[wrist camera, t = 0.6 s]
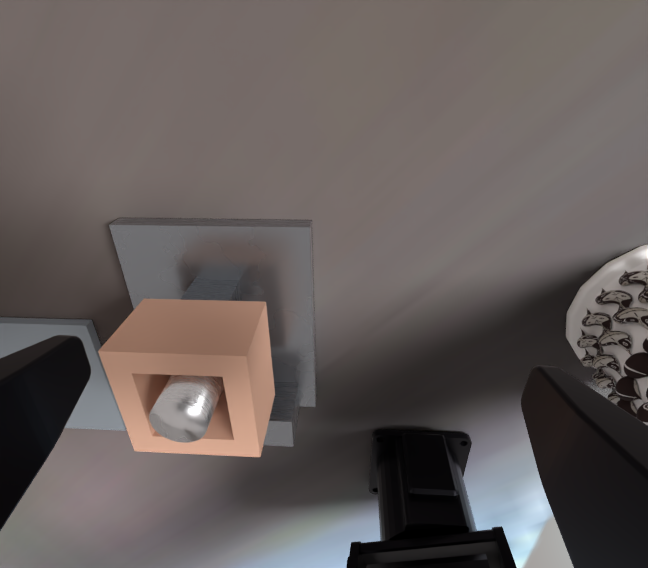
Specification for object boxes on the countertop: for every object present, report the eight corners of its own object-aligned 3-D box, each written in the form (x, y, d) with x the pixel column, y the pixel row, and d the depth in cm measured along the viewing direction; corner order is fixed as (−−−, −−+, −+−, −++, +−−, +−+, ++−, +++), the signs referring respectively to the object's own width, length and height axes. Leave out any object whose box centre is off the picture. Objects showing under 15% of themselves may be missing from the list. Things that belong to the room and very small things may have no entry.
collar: (274, 394, 22) (260, 457, 18) (169, 389, 22) (135, 451, 19) (266, 301, 19) (246, 356, 15) (143, 298, 19) (97, 351, 16)
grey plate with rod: (316, 395, 26) (303, 514, 19) (167, 389, 26) (102, 503, 20) (311, 220, 20) (290, 303, 13) (119, 218, 21) (4, 296, 14)
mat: (129, 423, 28) (125, 430, 28) (10, 418, 29) (3, 425, 28) (91, 319, 24) (86, 325, 23) (-49, 315, 25) (-58, 321, 24)
